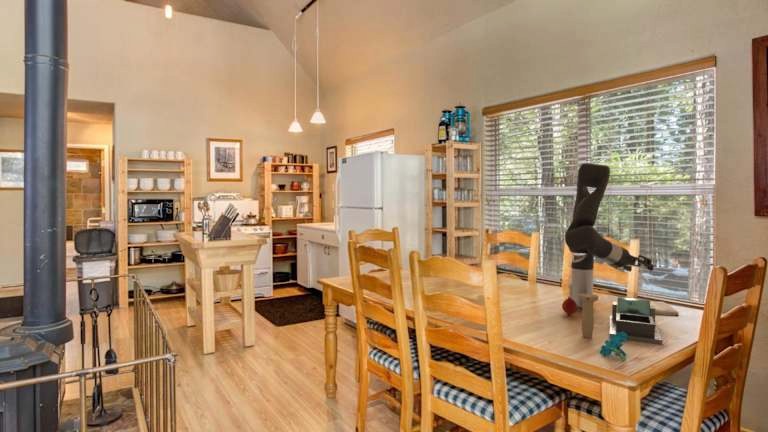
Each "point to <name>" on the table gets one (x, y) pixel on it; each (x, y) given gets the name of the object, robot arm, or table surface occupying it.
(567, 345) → the table surface
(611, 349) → the teal lobed piece
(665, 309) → the washcloth
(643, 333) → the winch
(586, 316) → the handle
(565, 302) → the onion
